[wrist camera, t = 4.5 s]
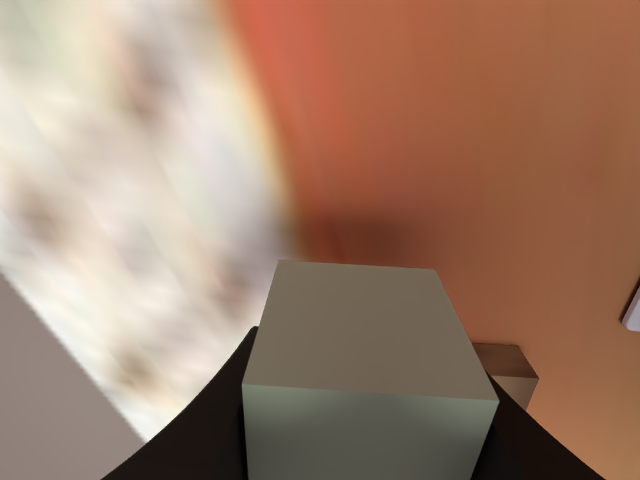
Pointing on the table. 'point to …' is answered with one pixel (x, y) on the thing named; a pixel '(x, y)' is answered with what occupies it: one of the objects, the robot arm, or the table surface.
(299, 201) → the table surface
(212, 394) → the robot arm
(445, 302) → the sage wooden cube
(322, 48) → the table surface
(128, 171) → the table surface
